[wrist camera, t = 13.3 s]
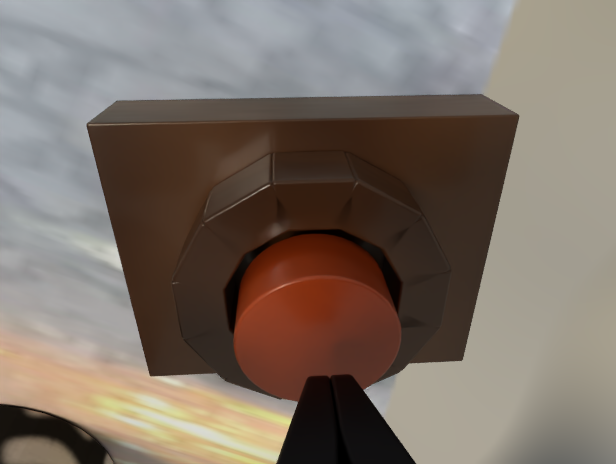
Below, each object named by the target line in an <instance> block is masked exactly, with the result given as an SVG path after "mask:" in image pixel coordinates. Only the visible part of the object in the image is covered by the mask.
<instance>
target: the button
mask: <svg viewBox="0 0 616 464" xmlns="http://www.w3.org/2000/svg"><path fill="white" fill-rule="evenodd" d="M401 333H402V331H401V323H400V320H399V317H398V314H397V311H396V308H395V306H394V303H393V300H392V298H391V295H390V292H389V289H388V287H387V284H386V281H385V278H384V276H383V273H382V271H381V269H380V267H379V265H378V263H377V262H376V260H375V259H374V258H373V257H372V256H371V255H370V254H369V253H368V252H367V251H366V250H365V249H363V248H362V247H361V246H359V245H357V244H355V243H354V242H352V241H350V240H347V239H345V238H342V237H338V236H334V235H328V234H302V235H298V236H293V237H290V238H287V239H284V240H281V241H279V242H277V243H275V244H273V245H271V246H270V247H268V248H267V249H265V250H264V251H263V252H261V253H260V254H259V255H258V256H257V257H256V258H255V259H254V260H253V261H252V262H251V264H250V265H249V266H248V268H247V269H246V271H245V273H244V275H243V277H242V280H241V283H240V288H239V295H238V304H237V312H236V321H235V329H234V338H233V348H234V353H235V357H236V359H237V362H238V364H239V366H240V368H241V369H242V371H243V373H244V374H245V375H246V376H247V377H248V379H249V380H251V381H252V382H253V383H254V384H255V385H256V386H258V387H259V388H261V389H262V390H264V391H266V392H268V393H270V394H272V395H274V396H277V397H280V398H283V399H287V400H291V401H297V402H298V401H299V399H300V396H301V393H302V390H303V387H304V385H305V382H306V379H307V378H308V377H309V376H320V375H327V376H328V377H329V378H330V377H331V376H332V375H340V374H350V375H352V376H353V377H354V378H355V380H356V381H357V382H358V384H359V385H360V386H361V388H362V389H363V390H364V389H365V388H367V387H369V386H370V385H372V384H373V383H375V382H376V381H377V380H378V379H380V378H381V377H382V376H383V375H384V374H385V373H386V372H387V370H388V369H389V368H390V366H391V365H392V363H393V362H394V360H395V358H396V356H397V354H398V351H399V348H400V343H401Z"/></svg>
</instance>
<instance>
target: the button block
mask: <svg viewBox="0 0 616 464" xmlns="http://www.w3.org/2000/svg"><path fill="white" fill-rule="evenodd" d="M518 120H519V115H518V114H517V113H515V112H513V111H511V110H509V109H507V108H506V107H504V106H502V105H500V104H499V103H497V102H495V101H493V100H491V99H490V98H488V97H486V96H484V95H482V94H471V95H415V96H359V97H303V98H247V99H191V100H136V101H116V102H115V103H113V104H112V105H111V106H109V107H108V108H107V109H105V110H104V111H103V112H101V113H100V114H99V115H97V116H96V117H95V118H93V119H92V120H91V121H90V122H88V123H87V129H88V133H89V137H90V141H91V145H92V149H93V153H94V157H95V161H96V165H97V169H98V173H99V177H100V181H101V185H102V189H103V193H104V196H105V200H106V204H107V208H108V212H109V216H110V220H111V224H112V228H113V232H114V236H115V240H116V244H117V248H118V252H119V256H120V260H121V264H122V268H123V272H124V275H125V279H126V283H127V287H128V291H129V295H130V299H131V303H132V307H133V311H134V315H135V319H136V323H137V327H138V331H139V335H140V339H141V343H142V347H143V351H144V354H145V358H146V362H147V366H148V370H149V374H150V376H168V375H188V374H208V373H217V374H218V375H219V376H220V377H221V378H222V379H224V380H225V381H226V382H229V383H232V384H235V385H238V386H241V387H244V388H247V389H250V390H253V391H256V392H259V393H262V394H265V395H268V396H271V397H274V398H277V399H283V398H280V397H277V396H274V395H272V394H270V393H268V392H266V391H264V390H262V389H261V388H259V387H258V386H256V385H255V384H254V383H253V382H252V381H251V380H249V379H248V377H247V376H246V375H245V374H244V373H243V371H242V369H241V368H240V366H239V364H238V362H237V359H236V357H235V353H234V348H233V338H234V329H235V321H236V312H237V304H238V295H239V288H240V283H241V280H242V277H243V275H244V273H245V271H246V269H247V268H248V266H249V265H250V264H251V262H252V261H253V260H254V259H255V258H256V257H257V256H258V255H259V254H260V253H261V252H263V251H264V250H265V249H267V248H268V247H270V246H271V245H273V244H275V243H277V242H279V241H281V240H284V239H287V238H290V237H293V236H298V235H302V234H328V235H334V236H338V237H342V238H345V239H347V240H350V241H352V242H354V243H355V244H357V245H359V246H361V247H362V248H363V249H365V250H366V251H367V252H368V253H369V254H370V255H371V256H372V257H373V258H374V259H375V260H376V262H377V263H378V265H379V267H380V269H381V271H382V273H383V276H384V278H385V281H386V284H387V287H388V289H389V292H390V295H391V298H392V300H393V303H394V306H395V308H396V311H397V314H398V317H399V320H400V323H401V331H402V333H401V343H400V348H399V351H398V354H397V356H396V358H395V360H394V362H393V363H392V365H391V366H390V368H389V369H388V370H387V372H386V373H385V374H384V375H383V376H382V377H381V378H380V379H378V380H377V381H376V382H379V381H381V380H383V379H385V378H388V377H390V376H392V375H395V374H397V373H399V372H400V371H402V370H403V369H404V368H405V367H406V366H407V365H408V364H409V363H425V362H446V361H462V360H463V356H464V352H465V348H466V343H467V339H468V335H469V331H470V326H471V322H472V318H473V313H474V309H475V305H476V300H477V296H478V292H479V288H480V283H481V279H482V274H483V270H484V266H485V261H486V257H487V253H488V248H489V245H490V240H491V236H492V232H493V227H494V223H495V218H496V214H497V210H498V206H499V202H500V197H501V193H502V189H503V184H504V180H505V175H506V171H507V167H508V163H509V159H510V154H511V150H512V145H513V141H514V137H515V132H516V128H517V124H518ZM376 382H375V383H376ZM373 384H374V383H373Z"/></svg>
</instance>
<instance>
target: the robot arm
mask: <svg viewBox="0 0 616 464" xmlns="http://www.w3.org/2000/svg"><path fill="white" fill-rule="evenodd" d="M276 464H416V463H415V461H414V460H413V459H412V458H411V456H410V455H409V453H408V452H407V450H406V449H405V448H404V446H403V445H402V443H401V442H400V441H399V439H398V438H397V437H396V435H395V434H394V432H393V431H392V430H391V428H390V427H389V425H388V424H387V423H386V421H385V420H384V418H383V417H382V416H381V414H380V413H379V411H378V410H377V409H376V407H375V406H374V405H373V403H372V402H371V400H370V399H369V398H368V396H367V395H366V393H365V392H364V391H363V389H362V388H361V386H360V385H359V384H358V382H357V381H356V380H355V378H354V377H353V376H352V375H350V374H340V375H332V376H331V377H330V378H329V377H328V376H327V375H320V376H309V377H308V378H307V379H306V382H305V385H304V387H303V390H302V393H301V396H300V399H299V401H298V404H297V407H296V410H295V413H294V415H293V418H292V421H291V424H290V427H289V429H288V432H287V435H286V438H285V441H284V443H283V446H282V449H281V452H280V455H279V458H278V460H277V463H276Z"/></svg>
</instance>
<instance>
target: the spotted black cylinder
mask: <svg viewBox="0 0 616 464" xmlns="http://www.w3.org/2000/svg"><path fill="white" fill-rule="evenodd" d="M0 464H114V463H113V461H112V459H111V458H110V456H109V454H108V453H107V451H106V450H105V449H104V448H103V447H102V446H101V445H100V444H99V443H98V442H97V441H96V440H95V439H94V438H92V437H91V436H89V435H88V434H87V433H85V432H84V431H83V430H81V429H79V428H77V427H75V426H73V425H71V424H69V423H67V422H66V421H64V420H61V419H58V418H55V417H52V416H50V415H47V414H44V413H40V412H36V411H32V410H27V409H23V408H16V407H7V406H0Z"/></svg>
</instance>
